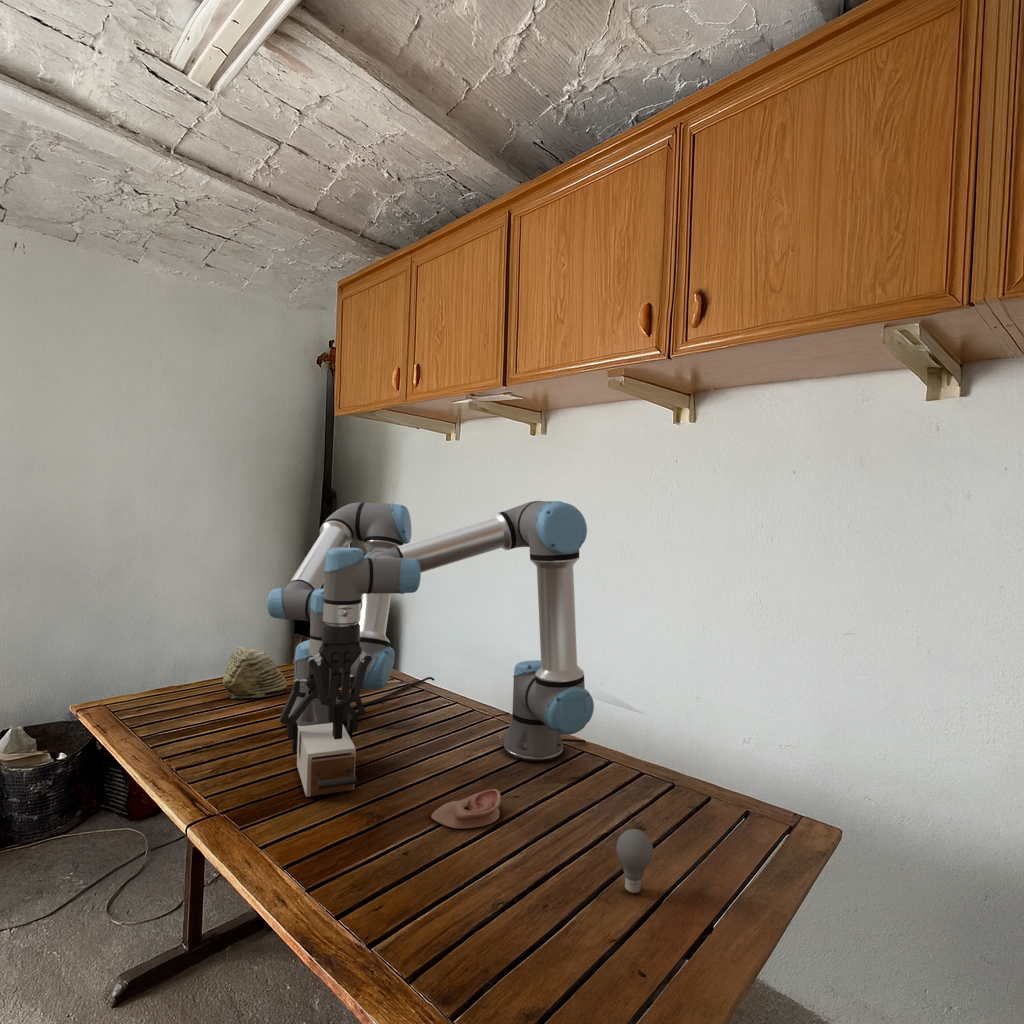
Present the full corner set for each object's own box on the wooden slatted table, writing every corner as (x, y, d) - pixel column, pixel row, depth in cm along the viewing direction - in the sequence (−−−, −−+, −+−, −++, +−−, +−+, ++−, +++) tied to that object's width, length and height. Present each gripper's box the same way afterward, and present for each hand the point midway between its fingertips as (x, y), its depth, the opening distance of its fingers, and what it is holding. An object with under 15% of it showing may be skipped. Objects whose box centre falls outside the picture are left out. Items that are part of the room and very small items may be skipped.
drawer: (359, 802, 130) (360, 767, 130) (314, 809, 126) (315, 773, 126) (340, 760, 150) (341, 730, 150) (301, 766, 146) (302, 735, 146)
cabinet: (354, 789, 138) (355, 748, 137) (306, 797, 133) (307, 754, 133) (340, 759, 153) (341, 721, 153) (296, 765, 149) (298, 726, 149)
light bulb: (610, 879, 108) (613, 822, 108) (644, 879, 109) (647, 822, 109) (619, 902, 102) (622, 840, 102) (655, 901, 103) (658, 840, 103)
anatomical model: (426, 804, 124) (444, 779, 135) (425, 824, 124) (443, 798, 135) (492, 814, 121) (505, 787, 132) (491, 834, 121) (504, 806, 133)
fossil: (218, 695, 195) (220, 647, 195) (278, 685, 208) (279, 640, 207) (228, 703, 189) (230, 653, 188) (289, 692, 201) (290, 645, 201)
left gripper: (272, 663, 138) (268, 762, 139) (381, 656, 148) (377, 748, 149) (269, 655, 145) (265, 749, 145) (373, 649, 155) (370, 736, 156)
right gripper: (311, 628, 124) (306, 747, 124) (377, 625, 130) (372, 739, 130) (306, 620, 131) (302, 734, 131) (369, 618, 136) (365, 726, 137)
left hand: (322, 748), depth 147 cm, fingers open, 12 cm apart
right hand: (337, 736), depth 131 cm, fingers closed
